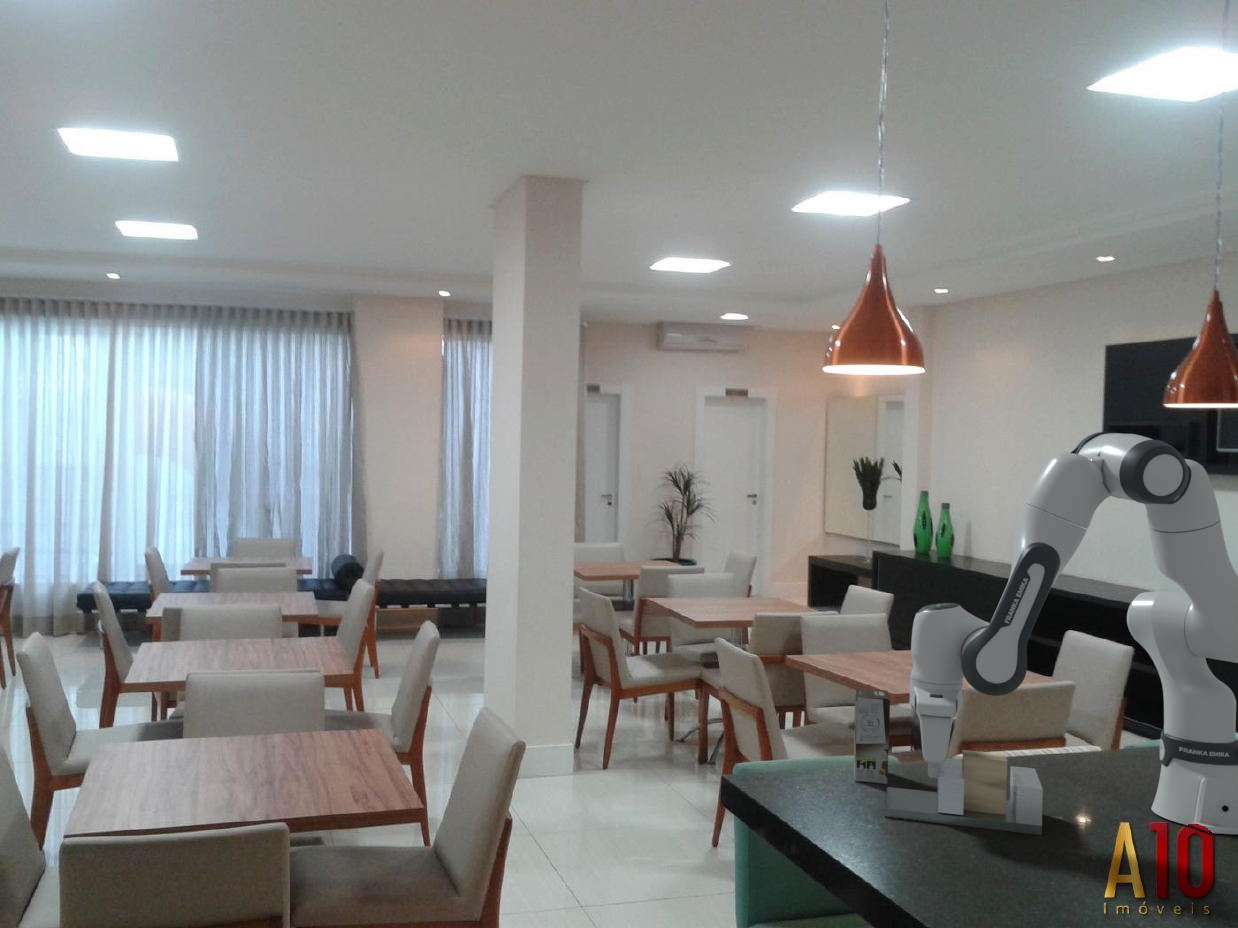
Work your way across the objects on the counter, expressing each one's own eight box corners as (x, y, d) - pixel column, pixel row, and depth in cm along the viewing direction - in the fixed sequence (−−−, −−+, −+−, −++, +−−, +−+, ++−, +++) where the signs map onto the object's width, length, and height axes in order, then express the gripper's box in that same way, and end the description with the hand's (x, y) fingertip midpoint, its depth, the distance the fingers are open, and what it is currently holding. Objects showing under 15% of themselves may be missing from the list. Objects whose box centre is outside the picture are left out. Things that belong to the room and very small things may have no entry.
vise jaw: (960, 792, 190) (961, 759, 190) (963, 814, 177) (964, 778, 177) (937, 790, 191) (938, 757, 191) (938, 812, 178) (939, 776, 178)
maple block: (961, 801, 186) (962, 749, 186) (1003, 805, 184) (1005, 753, 184) (962, 809, 181) (963, 756, 181) (1005, 814, 179) (1007, 761, 179)
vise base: (1033, 811, 186) (1034, 768, 186) (1041, 834, 174) (1042, 788, 174) (887, 795, 193) (888, 753, 193) (884, 816, 181) (885, 772, 181)
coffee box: (888, 784, 200) (890, 698, 200) (853, 781, 201) (856, 696, 202) (886, 771, 209) (888, 689, 209) (852, 768, 210) (855, 687, 210)
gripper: (917, 683, 196) (914, 758, 196) (916, 706, 176) (913, 789, 176) (953, 686, 194) (950, 762, 194) (956, 709, 174) (953, 793, 174)
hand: (933, 775), depth 185 cm, fingers closed, pressing on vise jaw
